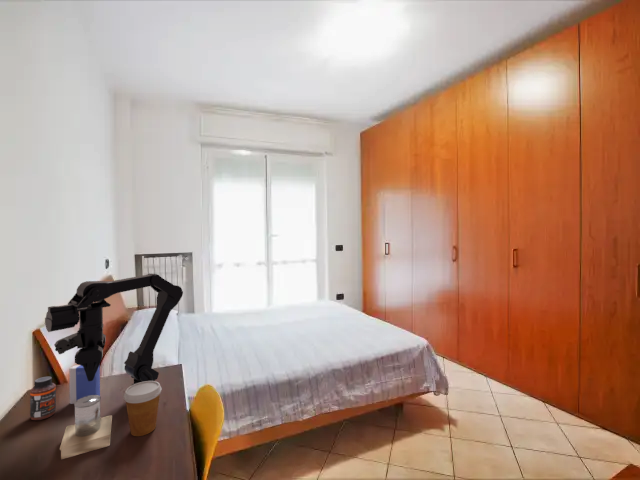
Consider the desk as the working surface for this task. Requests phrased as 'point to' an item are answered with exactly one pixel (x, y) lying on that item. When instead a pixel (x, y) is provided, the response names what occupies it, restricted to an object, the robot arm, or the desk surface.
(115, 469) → the desk surface
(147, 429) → the disposable coffee cup
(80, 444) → the oak box
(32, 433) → the desk surface
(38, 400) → the supplement bottle
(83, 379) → the walkman
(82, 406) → the tin
